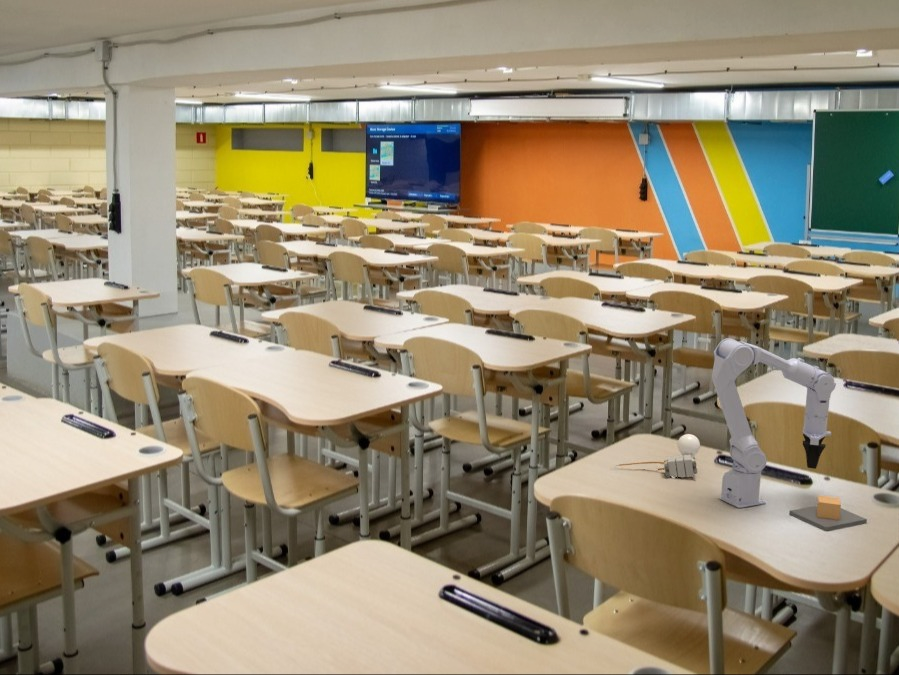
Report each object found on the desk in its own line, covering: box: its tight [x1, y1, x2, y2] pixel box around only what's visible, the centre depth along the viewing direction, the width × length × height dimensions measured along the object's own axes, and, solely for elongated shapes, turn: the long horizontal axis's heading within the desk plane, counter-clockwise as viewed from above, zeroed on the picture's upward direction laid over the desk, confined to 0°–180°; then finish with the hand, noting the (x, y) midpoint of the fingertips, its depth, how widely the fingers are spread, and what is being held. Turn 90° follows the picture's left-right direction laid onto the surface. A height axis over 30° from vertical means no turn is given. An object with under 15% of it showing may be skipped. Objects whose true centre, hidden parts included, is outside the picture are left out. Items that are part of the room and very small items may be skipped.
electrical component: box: [615, 454, 698, 478], centre depth 268 cm, size 24×6×5 cm, turn 79°
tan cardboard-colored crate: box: [816, 494, 842, 520], centre depth 236 cm, size 5×5×4 cm
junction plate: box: [788, 505, 868, 532], centre depth 236 cm, size 14×12×4 cm
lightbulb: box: [677, 433, 701, 458], centre depth 271 cm, size 6×6×11 cm
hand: (811, 463), depth 248 cm, fingers open, 7 cm apart
